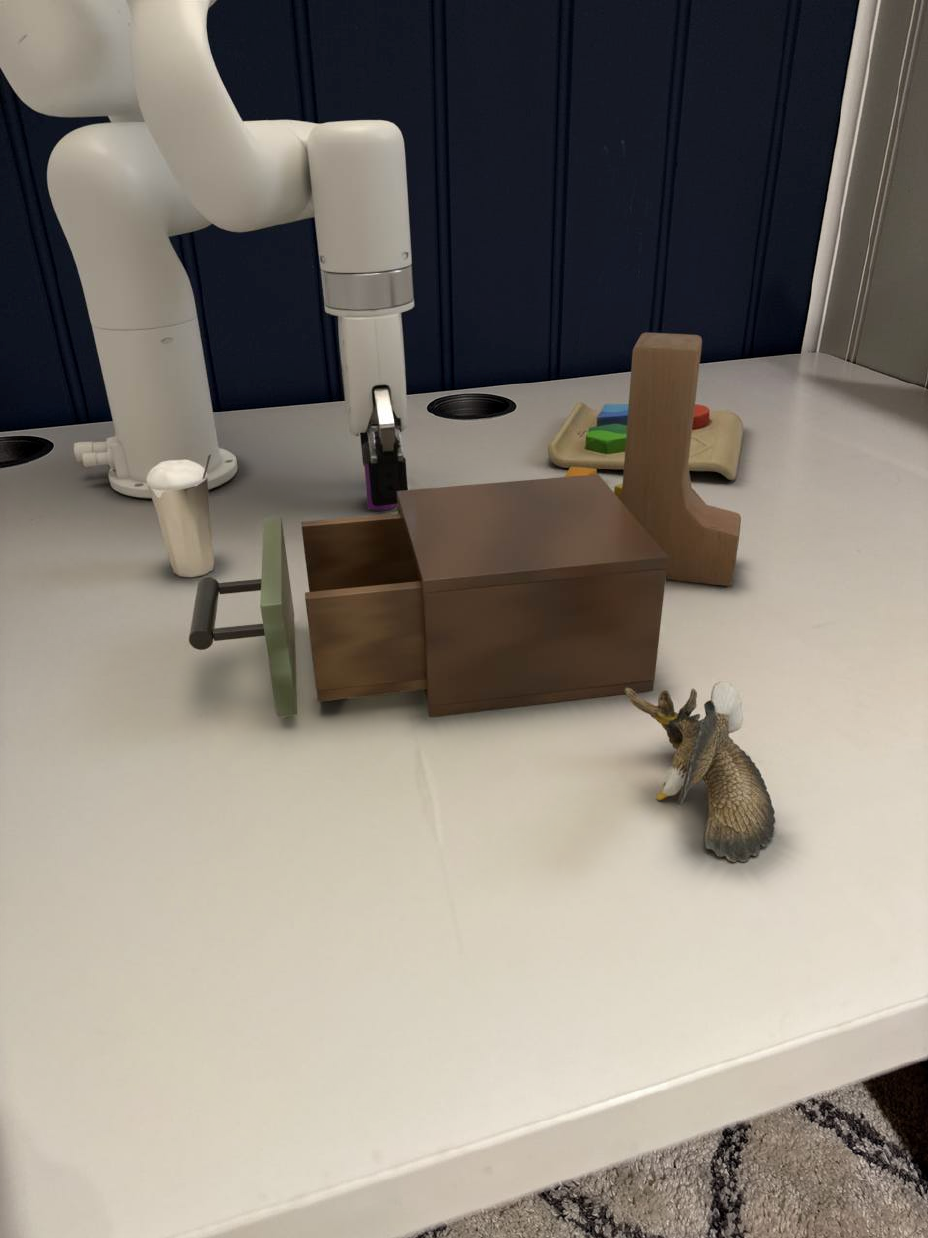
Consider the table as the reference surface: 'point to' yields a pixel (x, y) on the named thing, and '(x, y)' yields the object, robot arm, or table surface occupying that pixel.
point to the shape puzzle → (603, 440)
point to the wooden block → (673, 463)
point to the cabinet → (533, 592)
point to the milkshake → (184, 514)
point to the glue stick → (369, 501)
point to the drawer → (333, 610)
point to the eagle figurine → (715, 770)
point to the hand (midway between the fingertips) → (384, 483)
